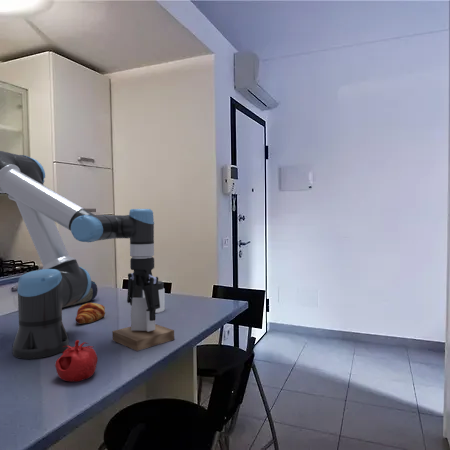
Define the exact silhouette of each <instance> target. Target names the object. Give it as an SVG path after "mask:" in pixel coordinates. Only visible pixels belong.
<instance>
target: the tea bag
mask: <svg viewBox="0 0 450 450" xmlns="http://www.w3.org/2000/svg"><path fill="white" fill-rule="evenodd" d="M130 307H131V308H130V309H131V310H130V327H131V330H139V331H147V323H146V310H147V309H148V307H147V303H146V298H132V306H130Z"/></svg>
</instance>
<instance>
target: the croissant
mask: <svg viewBox="0 0 450 450" xmlns="http://www.w3.org/2000/svg"><path fill="white" fill-rule="evenodd" d="M105 309H106V307H105V306H104V305H103V304H100V303H96V302H85V303H84V304H82V305H80V307H79V308H78V309H77V312H76V316H75V322H76V324H80V325H82V324H91V323H93V322H97V321H98V320H101V319H102V318H103V317H105V314H106V312H105V311H106V310H105Z"/></svg>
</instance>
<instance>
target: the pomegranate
mask: <svg viewBox="0 0 450 450" xmlns="http://www.w3.org/2000/svg"><path fill="white" fill-rule="evenodd" d="M84 344H89V343H88V342H86V341H85V342H84V341H83V342H82V343H80V340H79V339H76V340H75V341H74V346H70V345H69V346H63V347H68V348H67V349H66V350H64V351H63V352H62V354H61V355H60V357H59V358H57V360H56V361H55V362H54V363H55V364H54V366H55V370H56V373H57V375H58V377H59V378H60V379H61V380H63V381H66V382H75V383H77V382H81V381H83V380H87V379H90V378H91V377H92V376H93V375H94V374H95V372H96V369H97V364H98V355H97V353H96V350H95V349H94V348H93V347H92V345H91V346H90V345H88V346H84Z"/></svg>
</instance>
